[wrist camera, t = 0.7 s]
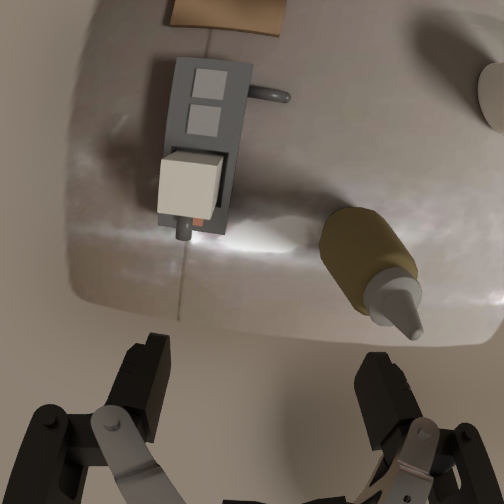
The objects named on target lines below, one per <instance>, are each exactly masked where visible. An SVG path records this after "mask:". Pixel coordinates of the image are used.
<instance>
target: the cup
mask: <svg viewBox="0 0 504 504" xmlns="http://www.w3.org/2000/svg"><path fill="white" fill-rule="evenodd" d="M478 99H479V104H480V107H481V110H482V113H483V115H484V117H485V119H486V121H487V122H488V124H489V125H490V126H491V127H492V128H493V129H494V130H495V131H496V132H498V133H499V134H501V135H504V63H491V64H489V65H487V66H486V67H485V68H484V69H483V70H482V72H481V74H480V77H479V81H478Z"/></svg>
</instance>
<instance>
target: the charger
mask: <svg viewBox="0 0 504 504" xmlns="http://www.w3.org/2000/svg"><path fill="white" fill-rule="evenodd" d="M224 156H225V154H218V153H210V152H202V151H194V150H185V149H180V150H178V151H176V152H174V153H172V154H170V155H168V156H167V157H165V158H163V159H161V168H160V180H159V193H158V208H157V213H164V214H171V215H177V225H176V239H178V240H181V241H188V240H190V239H191V236H192V225H193V218H200V219H207V220H210V219H211V216H212V213H213V211H214V208H215V205H216V202H217V200H218V197H219V190H220V183H221V176H222V169H223V162H224Z"/></svg>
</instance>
